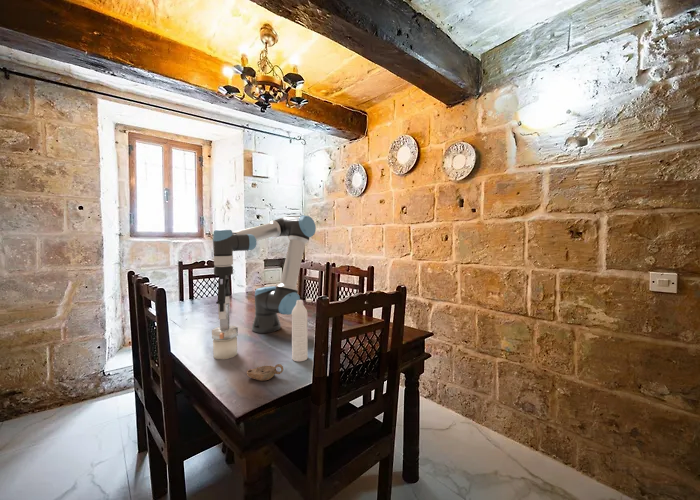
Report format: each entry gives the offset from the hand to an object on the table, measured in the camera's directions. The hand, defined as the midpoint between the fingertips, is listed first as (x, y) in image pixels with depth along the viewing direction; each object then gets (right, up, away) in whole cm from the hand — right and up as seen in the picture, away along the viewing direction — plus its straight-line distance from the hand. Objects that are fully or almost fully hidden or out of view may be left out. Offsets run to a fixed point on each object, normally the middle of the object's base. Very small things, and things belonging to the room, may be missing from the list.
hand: (224, 314), depth 133 cm
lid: (0, -9, 0) cm, 9 cm away
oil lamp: (+23, -19, -20) cm, 36 cm away
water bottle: (+34, -18, -2) cm, 39 cm away
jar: (0, -18, +1) cm, 18 cm away
